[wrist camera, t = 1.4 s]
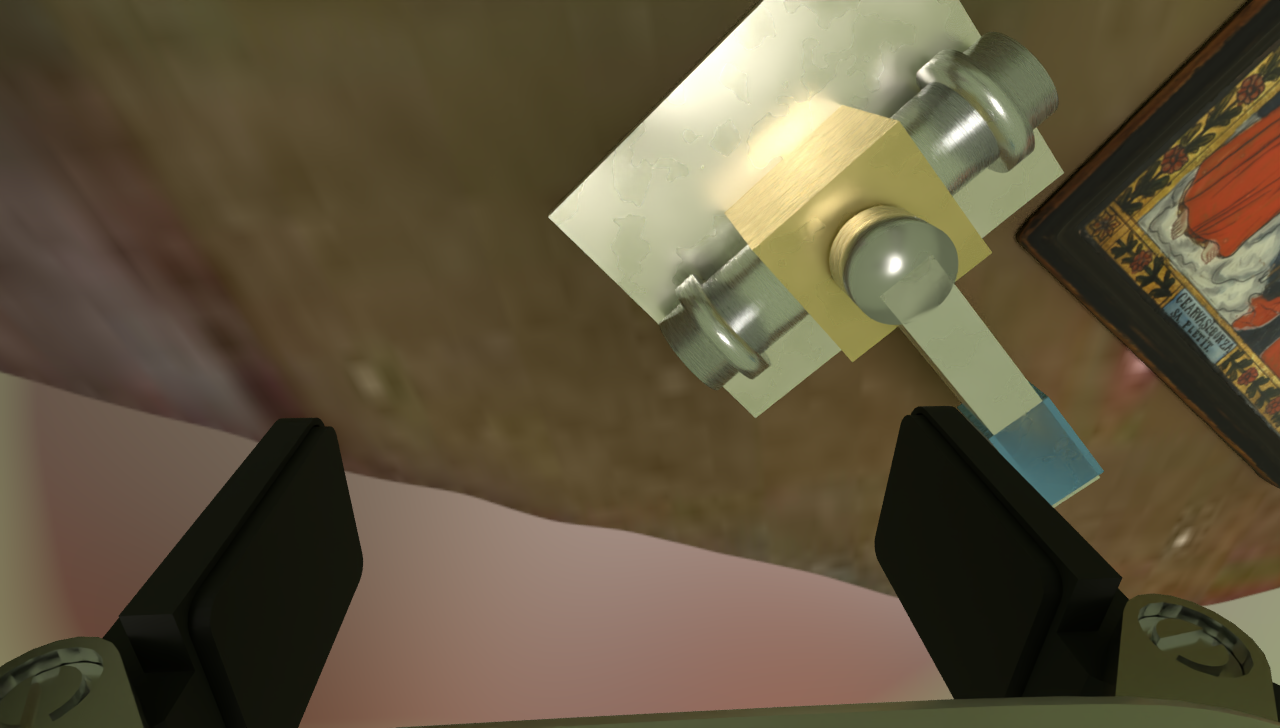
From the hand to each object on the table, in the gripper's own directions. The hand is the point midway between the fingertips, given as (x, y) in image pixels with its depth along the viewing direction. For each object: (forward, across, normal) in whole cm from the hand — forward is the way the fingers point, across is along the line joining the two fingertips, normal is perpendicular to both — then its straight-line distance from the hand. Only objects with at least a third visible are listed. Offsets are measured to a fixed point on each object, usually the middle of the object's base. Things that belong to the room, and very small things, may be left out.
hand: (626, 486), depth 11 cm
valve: (+28, -11, +1) cm, 30 cm away
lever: (+19, -17, +7) cm, 27 cm away
